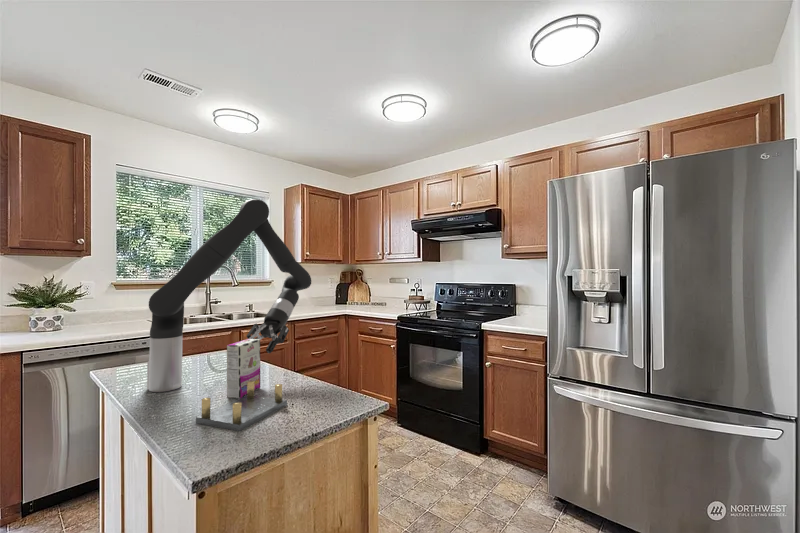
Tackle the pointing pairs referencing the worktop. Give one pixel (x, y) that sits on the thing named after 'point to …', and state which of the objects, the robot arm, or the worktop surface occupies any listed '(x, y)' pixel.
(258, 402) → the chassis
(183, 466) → the worktop surface
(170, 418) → the worktop surface
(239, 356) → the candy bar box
